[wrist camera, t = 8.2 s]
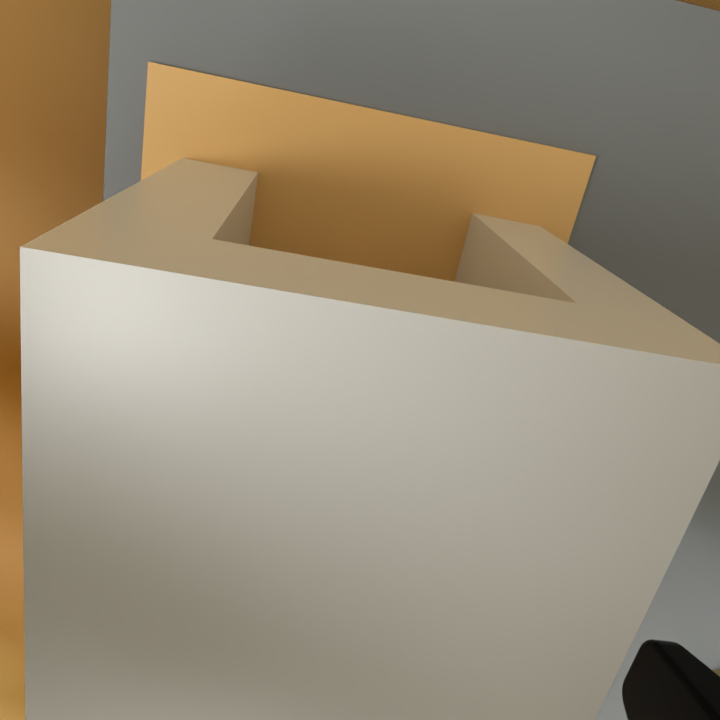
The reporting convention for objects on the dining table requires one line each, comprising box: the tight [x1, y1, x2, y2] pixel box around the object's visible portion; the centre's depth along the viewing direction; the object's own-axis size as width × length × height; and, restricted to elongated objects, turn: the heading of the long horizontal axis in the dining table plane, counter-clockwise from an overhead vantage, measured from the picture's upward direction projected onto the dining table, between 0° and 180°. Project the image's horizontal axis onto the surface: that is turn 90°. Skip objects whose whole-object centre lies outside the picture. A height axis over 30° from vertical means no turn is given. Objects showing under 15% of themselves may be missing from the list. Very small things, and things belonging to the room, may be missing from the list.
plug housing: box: [20, 158, 720, 720], centre depth 8 cm, size 5×10×5 cm, turn 169°
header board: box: [103, 0, 720, 720], centre depth 11 cm, size 16×16×4 cm
